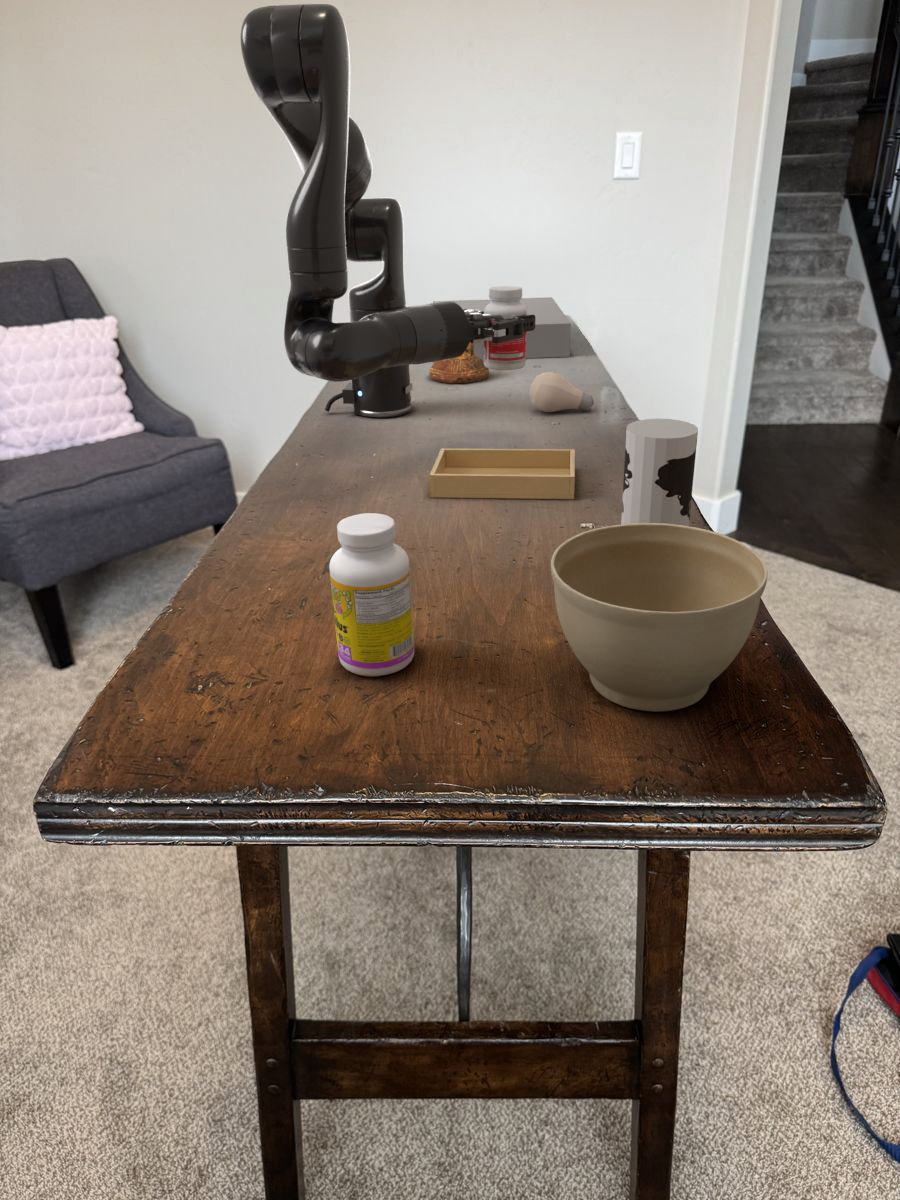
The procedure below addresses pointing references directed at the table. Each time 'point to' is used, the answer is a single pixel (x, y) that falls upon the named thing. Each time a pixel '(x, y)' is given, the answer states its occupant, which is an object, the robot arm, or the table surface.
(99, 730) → the table surface
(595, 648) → the planter bowl
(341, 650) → the supplement bottle
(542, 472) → the tray
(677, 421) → the grey patterned cylinder
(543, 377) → the light bulb
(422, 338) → the robot arm
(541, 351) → the box
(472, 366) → the brown domed piece
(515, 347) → the pill bottle
